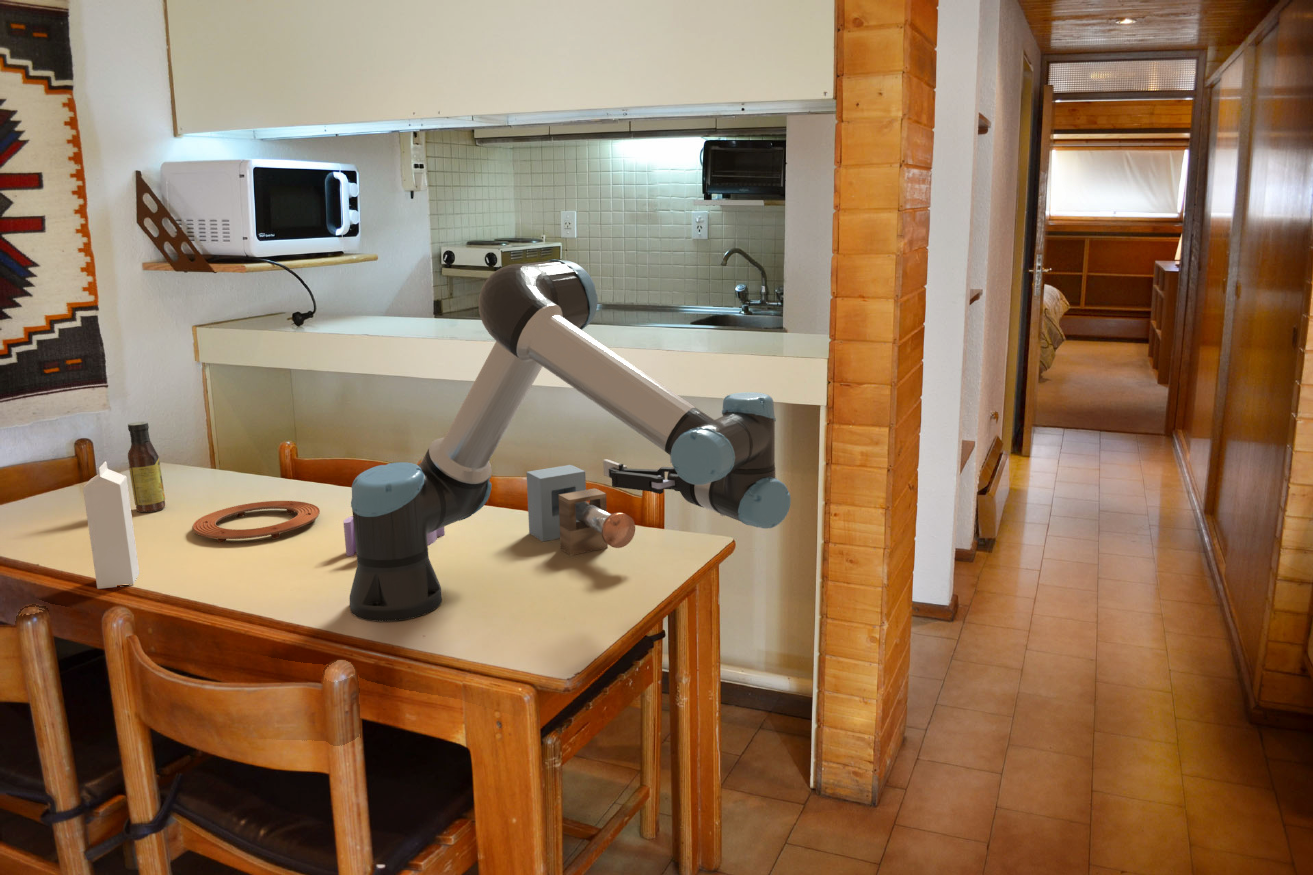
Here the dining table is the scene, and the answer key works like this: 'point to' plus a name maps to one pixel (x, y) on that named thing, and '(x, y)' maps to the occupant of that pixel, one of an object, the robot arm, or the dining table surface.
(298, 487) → the dining table surface
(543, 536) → the socket block
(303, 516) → the ring
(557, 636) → the dining table surface
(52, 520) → the dining table surface
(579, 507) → the pin
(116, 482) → the milk
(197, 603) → the dining table surface
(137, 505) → the sauce bottle
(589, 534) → the sleeve
